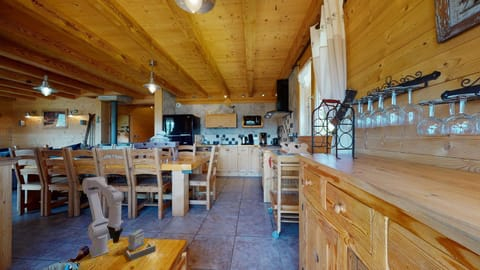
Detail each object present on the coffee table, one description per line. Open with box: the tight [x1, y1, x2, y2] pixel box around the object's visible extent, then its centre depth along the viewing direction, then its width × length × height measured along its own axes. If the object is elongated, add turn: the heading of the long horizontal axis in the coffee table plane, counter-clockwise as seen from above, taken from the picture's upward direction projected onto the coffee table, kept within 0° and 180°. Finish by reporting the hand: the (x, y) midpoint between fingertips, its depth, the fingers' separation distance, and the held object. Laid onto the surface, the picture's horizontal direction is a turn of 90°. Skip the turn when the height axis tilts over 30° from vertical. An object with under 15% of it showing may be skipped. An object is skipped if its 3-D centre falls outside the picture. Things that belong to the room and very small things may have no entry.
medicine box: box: [127, 229, 145, 251], centre depth 113 cm, size 8×4×9 cm, turn 168°
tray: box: [125, 242, 157, 262], centre depth 106 cm, size 9×13×3 cm
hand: (114, 240), depth 100 cm, fingers open, 7 cm apart
